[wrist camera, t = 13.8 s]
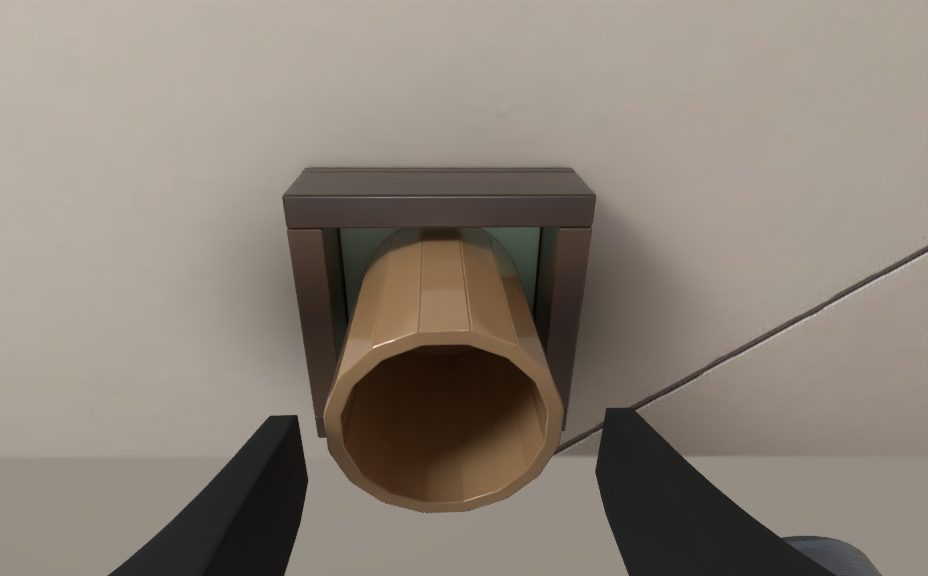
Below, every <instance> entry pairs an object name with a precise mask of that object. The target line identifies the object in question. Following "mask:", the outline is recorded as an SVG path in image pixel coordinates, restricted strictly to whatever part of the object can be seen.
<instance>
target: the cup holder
mask: <svg viewBox="0 0 928 576" xmlns="http://www.w3.org/2000/svg"><path fill="white" fill-rule="evenodd" d="M282 199H283V206H284V212H285V219H286V226H287V228H288V229H287V234H288V241H289V248H290V254H291V261H292V268H293V274H294V281H295V288H296V294H297V301H298V308H299V314H300V321H301V328H302V334H303V341H304V348H305V354H306V361H307V367H308V374H309V381H310V387H311V394H312V401H313V407H314V414H315V420H316V427H317V433H318V437H319V438H326V431H325V424H324V417H323V416H324V410H325V407H326V403H327V399H328V396H329V392H330V388H331V385H332V381H333V378H334V374H335V370H336V367H337V363H338V360H339V356H340V352H341V349H342V345H343V342H344V338H345V334H346V331H347V327H348V324H349V320H350V316H351V313H352V309H353V306H354V302H355V298H356V295H357V291H358V288H359V284H360V282H361V279H362V276H363V274H364V270H365V267H366V265H367V263H368V260H369V258H370V257H371V255H372V254H373V252H374V251H375V249H376V248H377V247H378V246H379V245H380V244H381V243H382V242H383V241H384V240H385V239H386V238H387V237H389V236H390V235H391V234H393V233H394V232H396V231H397V230H399V229H401V228H481V229H483V230H485V231H486V232H488V233H489V234H491V235H492V236H493V237H495V238H496V239H497V240H498V241H499V242H500V243H501V244H502V245H503V246H504V247H505V248H506V250H507V251H508V253H509V254H510V256H511V257H512V259H513V261H514V264H515V266H516V269H517V272H518V274H519V277H520V279H521V282H522V285H523V288H524V291H525V294H526V297H527V300H528V302H529V305H530V308H531V311H532V314H533V317H534V320H535V323H536V326H537V329H538V332H539V335H540V338H541V341H542V344H543V347H544V350H545V353H546V356H547V359H548V362H549V365H550V368H551V371H552V374H553V377H554V380H555V382H556V385H557V388H558V391H559V394H560V397H561V400H562V403H563V406H564V415H563V423H562V430H561V431H565V426H566V419H567V411H568V410H567V409H568V404H569V397H570V389H571V382H572V374H573V367H574V359H575V352H576V344H577V337H578V329H579V322H580V315H581V307H582V300H583V292H584V285H585V277H586V270H587V262H588V255H589V247H590V240H591V232H592V228H591V226H592V223H593V216H594V208H595V201H596V195H595V193H594V192H593V191H592V190H591V189H590V188H589V187H588V186H587V185H586V184H585V183H584V182H583V181H582V179H581V178H580V177H579V176H578V175H577V174H576V173H575V171H574V170H573V169H572V168H305V169H304V170H303V172H302V173H301V175H300V176H299V177H298V178H297V179H296V180H295V182H294V183H293V184H292V185H291V186H290V187H289V189H288V190H287V191H286V192H285V193H284V194H283V196H282Z"/></svg>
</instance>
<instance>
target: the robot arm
mask: <svg viewBox="0 0 928 576" xmlns="http://www.w3.org/2000/svg"><path fill="white" fill-rule="evenodd" d="M595 473H596V477H597V481H598V485H599V489H600V494H601V498H602V502H603V505H604V509H605V513H606V516H607V519H608V521H609V524H610V527H611V529H612V532H613V535H614V537H615V540H616V543H617V545H618V548H619V551H620V553H621V556H622V558H623V561H624V564H625V566H626V569H627V571H628V574H629V576H837V575H835V574H833V573H832V572H830V571H829V570H827V569H826V568H824V567H823V566H821V565H820V564H818V563H817V562H815V561H813V560H812V559H810V558H809V557H807V556H806V555H804V554H803V553H801V552H800V551H798V550H797V549H795V548H794V547H793V546H791V545H790V544H788V543H787V542H785V541H784V540H783V539H781V538H780V537H779V536H777V535H776V534H775V533H773V532H772V531H770V530H769V529H768V528H766V527H765V526H764V525H762V524H761V523H760V522H758V521H757V520H756V519H754V518H753V517H751V516H750V515H749V514H748V513H746V512H745V511H744V510H743V509H741V508H740V507H739V506H738V505H736V504H735V503H734V502H733V501H732V500H731V499H729V498H728V497H727V496H726V495H725V494H723V493H722V492H721V491H720V490H719V489H717V488H716V487H715V486H714V485H713V484H712V483H711V482H709V481H708V480H707V479H706V478H705V477H704V476H703V475H702V474H700V473H699V472H698V471H697V470H696V469H695V468H694V467H692V466H691V464H689V463H688V462H687V461H686V460H685V459H684V458H683V457H682V456H681V455H680V454H679V453H678V452H677V451H676V450H675V449H674V448H673V447H672V446H671V445H669V444H668V443H667V442H666V441H665V440H664V439H663V438H662V437H661V436H660V435H659V434H658V433H657V432H656V431H655V430H654V429H653V428H652V427H651V426H650V425H649V424H648V423H647V422H646V421H645V420H644V419H643V418H642V417H641V416H640V415H639V414H638V413H637V412H636V411H635V410H634V409H633V408H606V413H605V419H604V425H603V431H602V436H601V442H600V448H599V453H598V459H597V465H596V471H595ZM307 484H308V476H307V470H306V464H305V458H304V452H303V446H302V440H301V434H300V428H299V422H298V416H297V415H283V416H270V417H269V418H268V419H267V420H266V421H265V422H264V423H263V424H262V425H261V426H260V427H259V429H258V430H257V431H256V432H255V433H254V434H253V435H252V437H251V438H250V439H249V440H248V441H247V442H246V443H245V445H244V446H243V447H242V448H241V449H240V450H239V451H238V452H237V454H236V455H235V456H234V457H233V458H232V459H231V460H230V461H229V463H228V464H227V465H226V466H225V467H224V468H223V469H222V470H221V471H220V472H219V473H218V474H217V475H216V476H215V477H214V479H213V480H212V481H211V482H210V483H209V484H208V485H207V486H206V487H205V488H204V489H203V490H202V491H201V492H200V493H199V495H197V496H196V497H195V498H194V499H193V500H192V501H191V502H190V503H189V504H188V505H187V506H186V507H185V508H184V509H183V510H182V511H181V512H180V513H179V514H178V515H177V516H176V517H175V518H174V519H173V520H172V521H171V522H170V523H169V524H168V525H166V527H164V528H163V529H162V530H161V531H160V532H159V533H158V534H157V535H156V536H154V537H153V538H152V539H151V540H150V541H149V542H148V543H147V544H145V545H144V546H143V547H142V548H141V549H140V550H139V551H137V552H136V553H135V554H134V555H133V556H131V557H130V558H129V559H128V560H127V561H126V562H124V563H123V564H122V565H121V566H120V567H118V568H117V569H116V570H114V571H113V572H112V573H111V574H109V575H108V576H284V574H285V571H286V568H287V565H288V561H289V558H290V555H291V552H292V548H293V545H294V542H295V539H296V536H297V532H298V529H299V526H300V522H301V517H302V511H303V506H304V501H305V496H306V489H307Z"/></svg>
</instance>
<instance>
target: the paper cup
mask: <svg viewBox="0 0 928 576" xmlns="http://www.w3.org/2000/svg"><path fill="white" fill-rule="evenodd" d="M563 415H564V406H563V403H562V400H561V397H560V394H559V391H558V388H557V385H556V382H555V380H554V377H553V374H552V371H551V368H550V365H549V362H548V359H547V356H546V353H545V350H544V347H543V344H542V341H541V338H540V335H539V332H538V329H537V326H536V323H535V320H534V317H533V314H532V311H531V308H530V305H529V302H528V300H527V297H526V294H525V291H524V288H523V285H522V282H521V279H520V277H519V274H518V272H517V269H516V266H515V264H514V261H513V259H512V257H511V256H510V254H509V253H508V251H507V250H506V248H505V247H504V246H503V245H502V244H501V243H500V242H499V241H498V240H497V239H496V238H495V237H493V236H492V235H491V234H489V233H488V232H486V231H485V230H483V229H481V228H401V229H399V230H397V231H396V232H394V233H393V234H391V235H390V236H389V237H387V238H386V239H385V240H384V241H383V242H382V243H381V244H380V245H379V246H378V247H377V248H376V249H375V251H374V252H373V254H372V255H371V257H370V258H369V260H368V263H367V265H366V267H365V270H364V274H363V276H362V279H361V282H360V284H359V288H358V291H357V295H356V298H355V302H354V306H353V309H352V313H351V316H350V320H349V324H348V327H347V331H346V334H345V338H344V342H343V345H342V349H341V352H340V356H339V360H338V363H337V367H336V370H335V374H334V378H333V381H332V385H331V388H330V392H329V396H328V399H327V403H326V407H325V410H324V416H323V417H324V424H325V431H326V438H327V445H328V450H329V453H330V454H331V456H332V457H333V458H334V460H335V461H336V463H337V464H338V465H339V467H340V468H341V470H342V471H343V472H344V474H345V475H346V477H347V478H348V479H349V481H351V482H352V483H353V484H354V485H356V486H358V487H359V488H361V489H362V490H364V491H366V492H367V493H369V494H370V495H372V496H374V497H375V498H377V499H378V500H380V501H382V502H385V503H386V504H390V505H394V506H398V507H402V508H406V509H410V510H414V511H418V512H422V513H424V512H425V513H439V512H465V511H466V510H467V511H470V510H473V509H476V508H479V507H482V506H486V505H489V504H492V503H495V502H498V501H501V500H504V499H506V498H508V497H510V496H511V495H512V494H514V493H515V492H517V491H518V490H520V489H521V488H522V487H524V486H525V485H527V484H528V483H530V482H531V481H532V480H534V479H535V478H537V477H538V475H540V473H541V472H542V471H543V469H544V468H545V466H546V465H547V463H548V462H549V460H550V459H551V457H552V455H553V454H554V452H555V451H556V449H557V448H558V446H559V444H560V438H561V430H562V423H563Z"/></svg>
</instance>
